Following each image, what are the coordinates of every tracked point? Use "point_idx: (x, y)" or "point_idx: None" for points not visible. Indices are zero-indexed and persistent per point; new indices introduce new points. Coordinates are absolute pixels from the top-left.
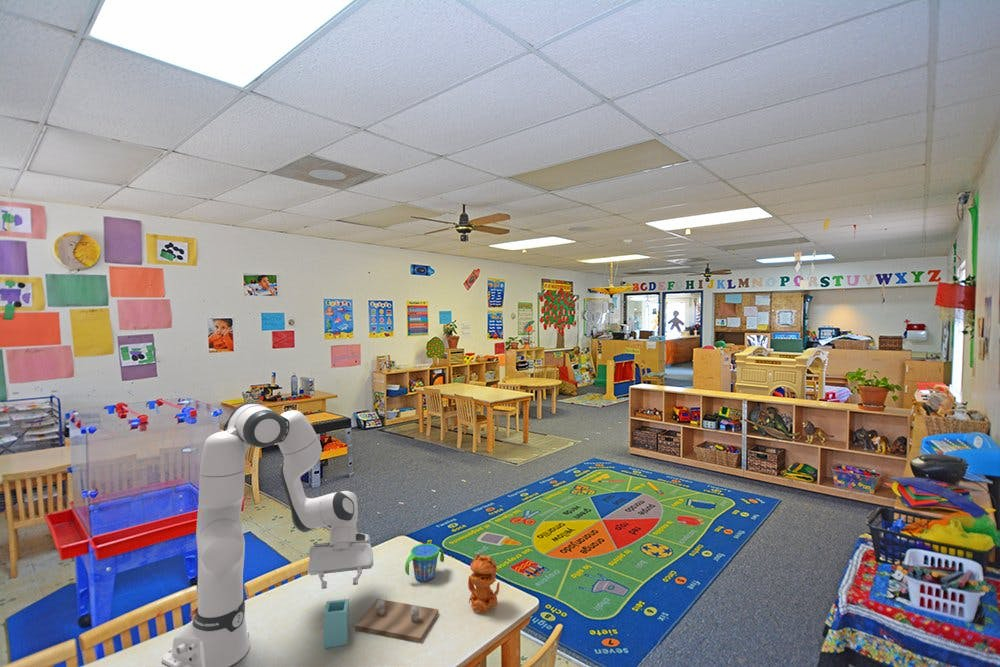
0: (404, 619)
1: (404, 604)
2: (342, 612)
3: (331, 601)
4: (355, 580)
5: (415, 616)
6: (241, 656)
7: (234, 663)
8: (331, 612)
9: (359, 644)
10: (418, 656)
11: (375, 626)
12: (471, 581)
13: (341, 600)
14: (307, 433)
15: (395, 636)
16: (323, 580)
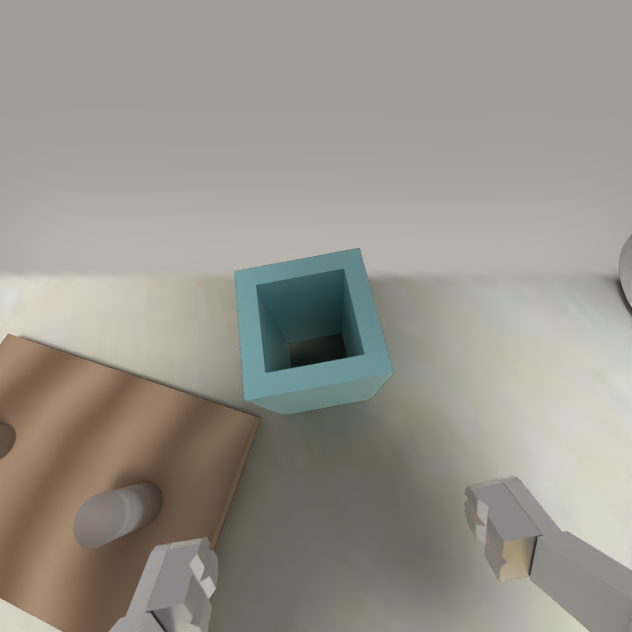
0: (41, 451)
1: (15, 593)
2: (257, 267)
3: (359, 371)
4: (166, 567)
5: None
6: (626, 266)
7: (623, 247)
8: (319, 263)
9: (229, 336)
10: (47, 283)
11: (166, 405)
12: None
13: (291, 381)
14: None
15: (100, 364)
16: (549, 544)
